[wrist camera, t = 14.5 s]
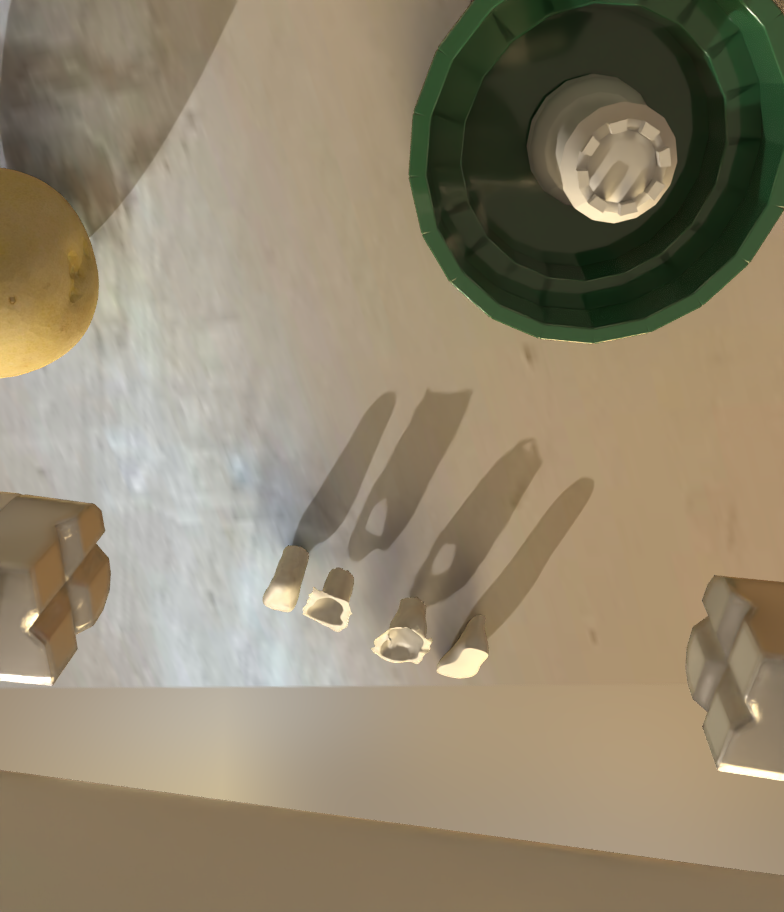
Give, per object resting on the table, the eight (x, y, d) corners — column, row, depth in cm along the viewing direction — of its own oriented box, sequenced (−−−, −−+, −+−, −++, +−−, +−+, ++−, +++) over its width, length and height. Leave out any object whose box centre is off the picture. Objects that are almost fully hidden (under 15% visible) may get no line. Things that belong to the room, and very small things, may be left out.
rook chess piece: (582, 228, 29) (615, 282, 22) (500, 146, 28) (508, 175, 21) (675, 135, 27) (744, 162, 20) (592, 43, 26) (633, 38, 19)
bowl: (435, -61, 25) (426, -86, 21) (799, -38, 25) (867, -58, 20) (409, 288, 31) (397, 325, 27) (702, 315, 31) (739, 358, 26)
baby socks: (269, 580, 35) (287, 533, 37) (254, 617, 39) (270, 574, 41) (501, 661, 36) (509, 613, 38) (461, 688, 41) (469, 644, 42)
